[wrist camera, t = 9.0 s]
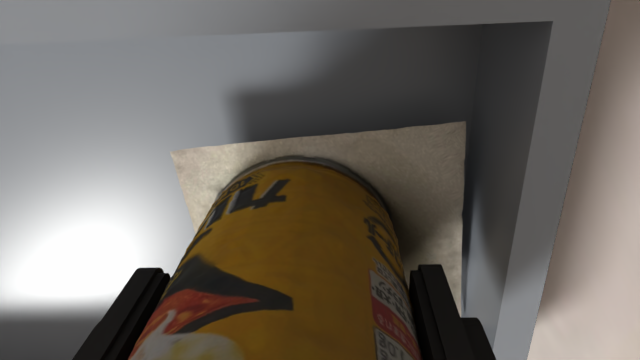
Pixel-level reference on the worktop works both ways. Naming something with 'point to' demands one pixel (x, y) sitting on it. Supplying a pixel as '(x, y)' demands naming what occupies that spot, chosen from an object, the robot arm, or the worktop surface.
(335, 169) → the condiment
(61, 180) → the tote
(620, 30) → the worktop surface
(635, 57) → the worktop surface
